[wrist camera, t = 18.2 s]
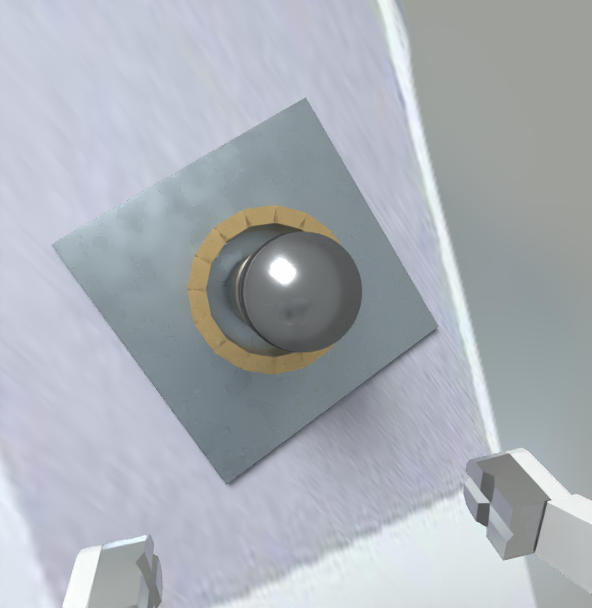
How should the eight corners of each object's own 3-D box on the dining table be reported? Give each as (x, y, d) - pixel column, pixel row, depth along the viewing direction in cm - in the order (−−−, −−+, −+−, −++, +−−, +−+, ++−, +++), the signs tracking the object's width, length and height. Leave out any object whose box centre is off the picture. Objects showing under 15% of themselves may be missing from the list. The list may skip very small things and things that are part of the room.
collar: (434, 325, 31) (464, 330, 27) (225, 480, 28) (230, 508, 24) (303, 100, 28) (319, 74, 24) (53, 245, 25) (31, 238, 21)
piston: (319, 301, 28) (385, 309, 18) (254, 346, 27) (287, 379, 17) (277, 234, 27) (323, 205, 17) (208, 278, 26) (217, 273, 17)
